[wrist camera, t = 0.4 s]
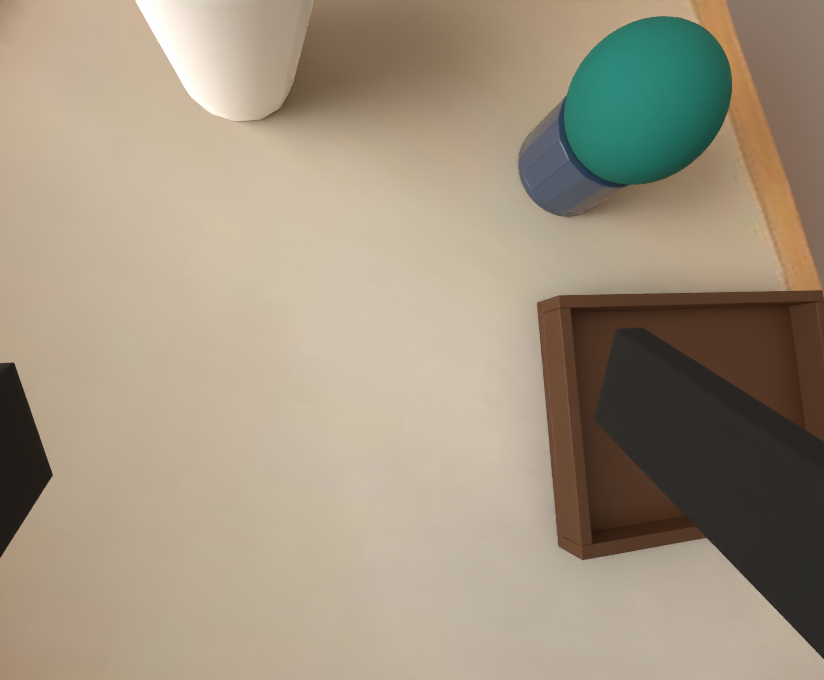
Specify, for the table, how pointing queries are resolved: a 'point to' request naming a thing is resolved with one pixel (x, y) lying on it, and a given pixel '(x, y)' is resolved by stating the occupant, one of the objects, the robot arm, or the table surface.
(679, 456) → the robot arm
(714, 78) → the ball
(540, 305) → the tray
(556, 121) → the cup
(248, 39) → the foam cup
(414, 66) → the table surface
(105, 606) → the table surface
